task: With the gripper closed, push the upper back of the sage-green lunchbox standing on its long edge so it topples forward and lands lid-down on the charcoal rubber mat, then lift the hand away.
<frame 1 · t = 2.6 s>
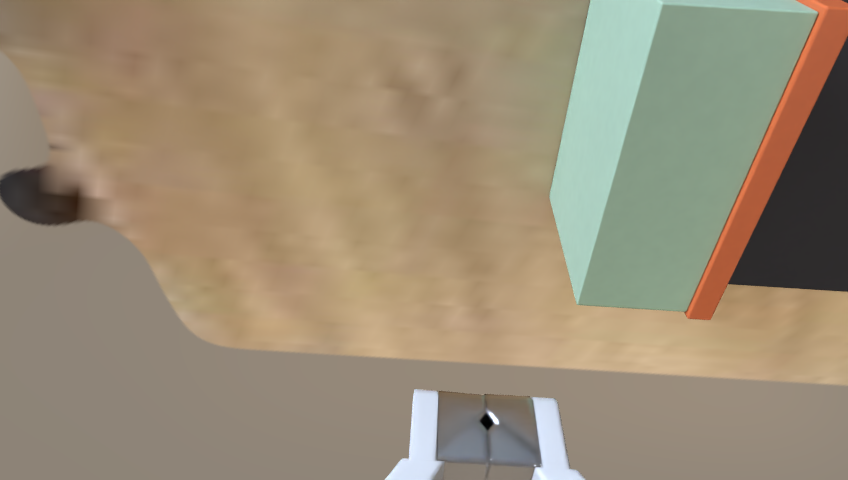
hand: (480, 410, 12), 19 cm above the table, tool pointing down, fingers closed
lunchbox: (630, 93, 27), on the table
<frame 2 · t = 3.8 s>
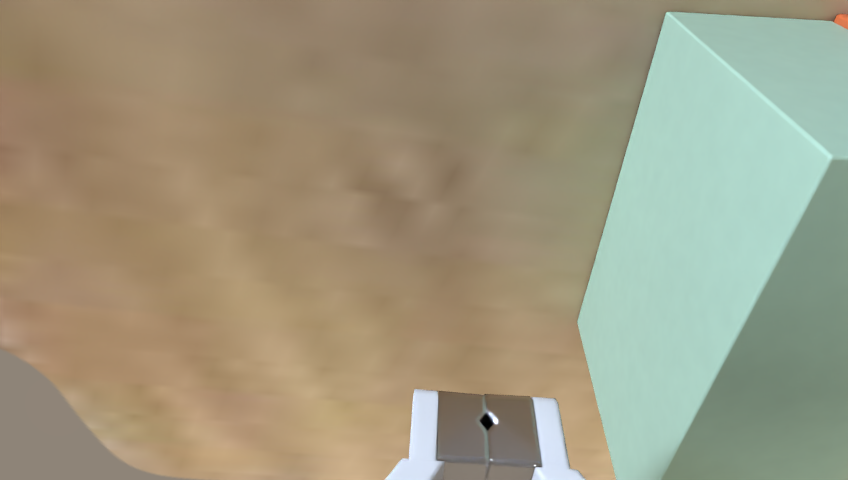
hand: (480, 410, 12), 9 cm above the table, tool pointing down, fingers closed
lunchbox: (695, 200, 19), on the table
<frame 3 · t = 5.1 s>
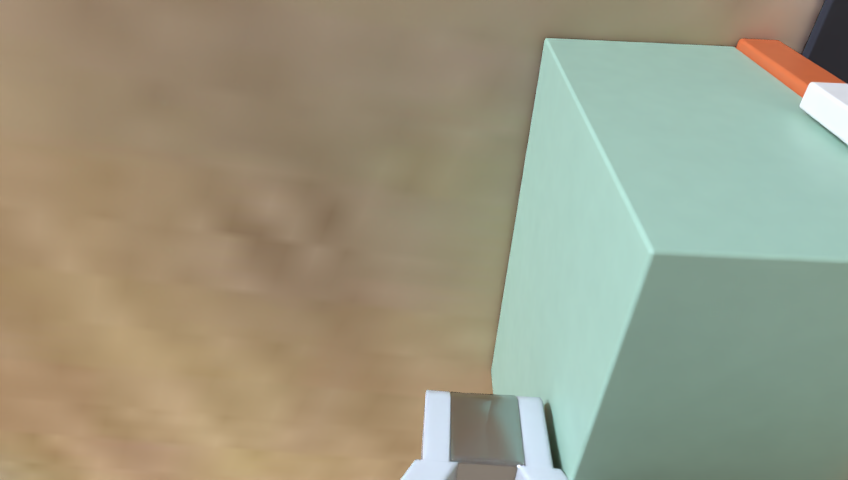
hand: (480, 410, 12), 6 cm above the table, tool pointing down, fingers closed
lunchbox: (604, 242, 17), on the table, touching gripper
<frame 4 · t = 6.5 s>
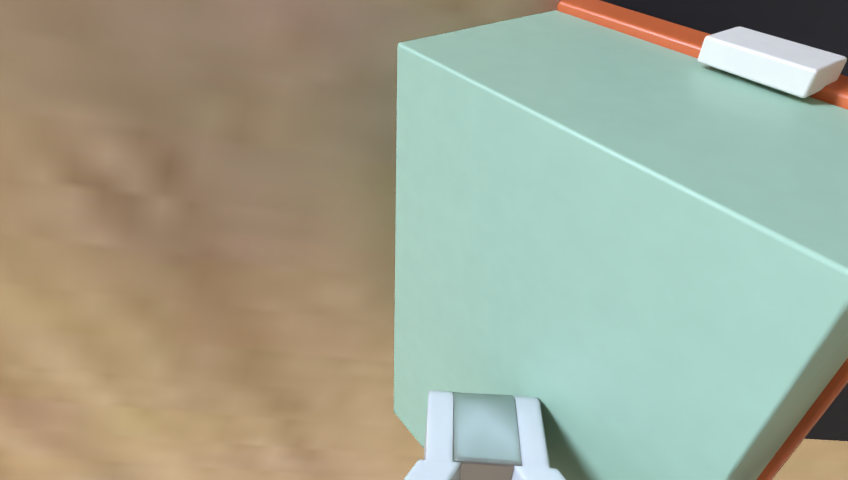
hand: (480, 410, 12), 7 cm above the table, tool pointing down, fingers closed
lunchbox: (474, 236, 16), point 2 cm above the table, tilted 39°, touching gripper, mat
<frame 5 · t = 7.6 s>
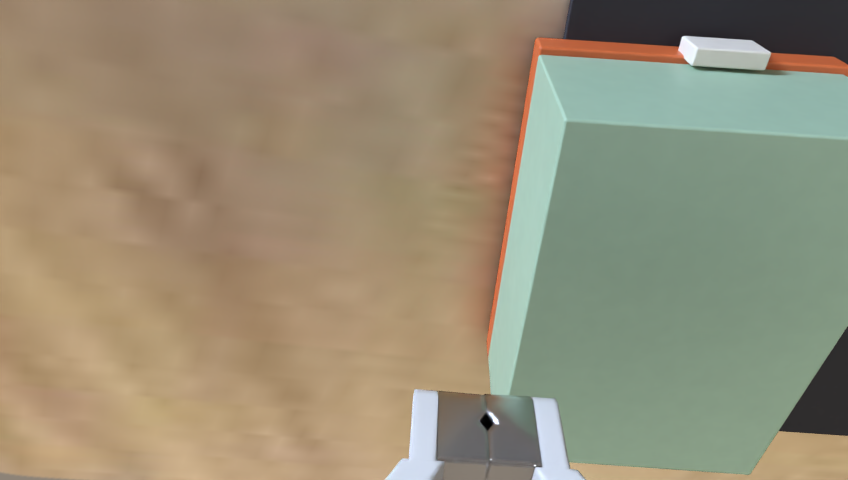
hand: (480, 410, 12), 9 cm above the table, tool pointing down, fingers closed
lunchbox: (513, 264, 18), point 3 cm above the table, tilted 90°, touching mat
mat: (829, 224, 20), on the table
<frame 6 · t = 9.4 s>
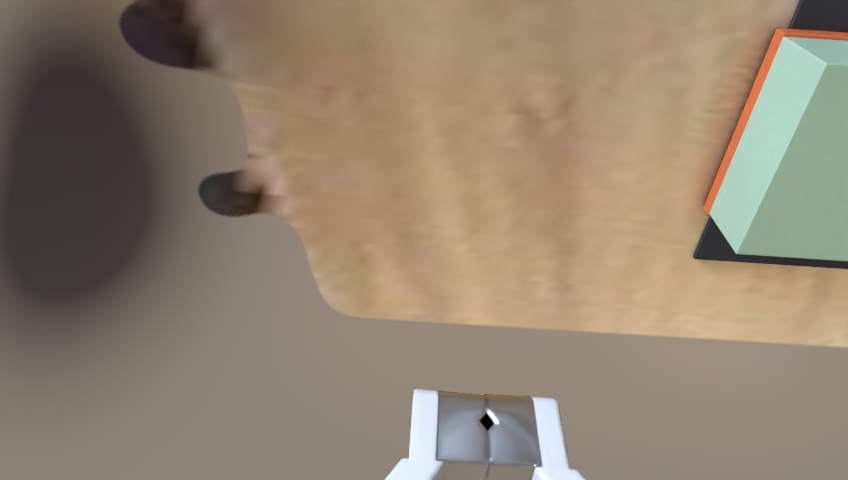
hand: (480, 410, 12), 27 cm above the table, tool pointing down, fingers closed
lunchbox: (754, 146, 34), point 3 cm above the table, tilted 90°, touching mat
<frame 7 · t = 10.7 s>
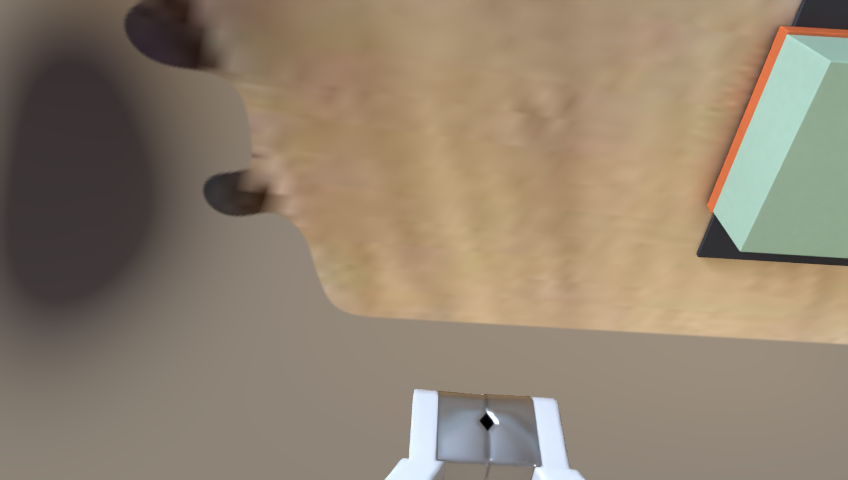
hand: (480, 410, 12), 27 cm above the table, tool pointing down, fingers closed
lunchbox: (758, 144, 34), point 3 cm above the table, tilted 90°, touching mat
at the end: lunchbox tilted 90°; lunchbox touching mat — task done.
